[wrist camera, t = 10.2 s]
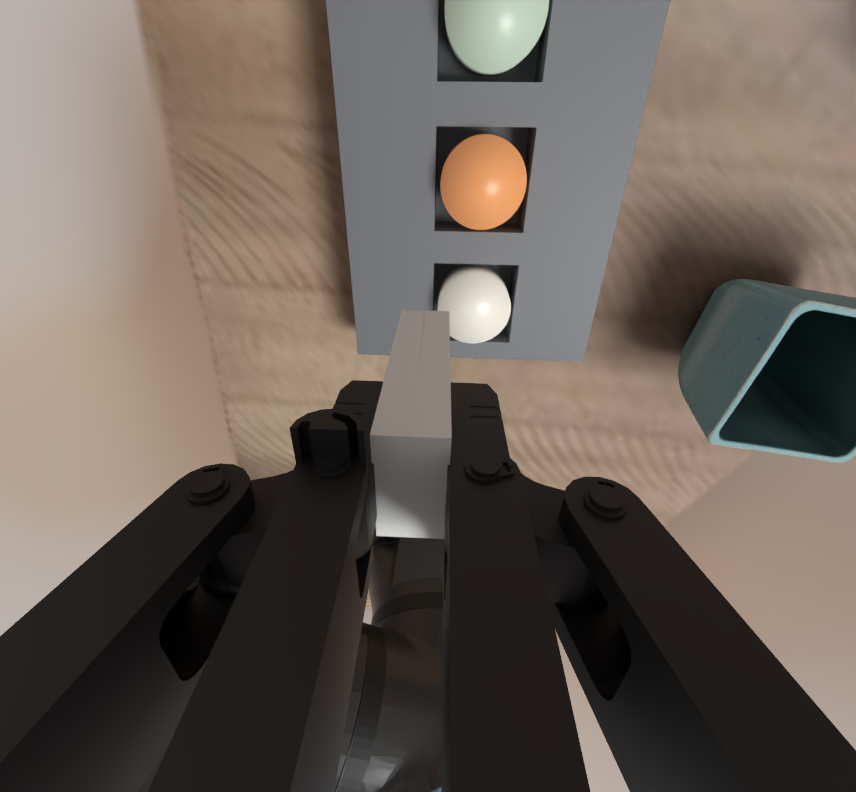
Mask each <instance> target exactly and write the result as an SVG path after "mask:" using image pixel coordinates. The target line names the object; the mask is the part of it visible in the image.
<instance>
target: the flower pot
mask: <svg viewBox="0 0 856 792" xmlns="http://www.w3.org/2000/svg"><path fill="white" fill-rule="evenodd" d="M678 375H679V384H680V388H681V391H682V394H683V396H684V398H685V400H686V402H687V404H688V406H689V408H690V409H691V411H692V413H693V415H694V417H695V418H696V420H697V422H698V424H699V426H700V427H701V429H702V431H703V433H704V434H705V436H706V438H707V440H708V442H709V443H711V444H715V445H720V446H727V447H733V448H741V449H750V450H758V451H765V452H772V453H777V454H784V455H791V456H798V457H804V458H811V459H817V460H822V461H827V462H833V463H836V462H837V463H839V462H846V461H849V460H850V459H851V458H852V457H853V456H854V455H855V454H856V298H853V297H847V296H841V295H836V294H830V293H824V292H818V291H812V290H807V289H801V288H796V287H790V286H784V285H778V284H773V283H768V282H763V281H757V280H752V279H734V280H730V281H727V282H725V283H723V284H721V285H720V286H718V287H717V288H716V289H715V291H714V292H713V294H712V296H711V297H710V299H709V301H708V303H707V305H706V307H705V309H704V311H703V313H702V314H701V316H700V318H699V320H698V322H697V324H696V325H695V327H694V329H693V331H692V333H691V334H690V336H689V338H688V340H687V341H686V343H685V345H684V347H683V350H682V354H681V358H680V362H679V371H678Z"/></svg>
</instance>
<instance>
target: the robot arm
mask: <svg viewBox="0 0 856 792" xmlns="http://www.w3.org/2000/svg"><path fill="white" fill-rule="evenodd" d="M501 418H502V416H501V411H500V406H499V401H498V396H497V394H496V393H495V392H494V391H493V390H492V389H491V387H490V386H489V385H488V384H476V383H451V376H450V323H449V311H426V310H402V311H401V315H400V319H399V323H398V327H397V330H396V334H395V338H394V342H393V346H392V350H391V354H390V358H389V362H388V366H387V370H386V374H385V378H384V381H383V382H381V381H354V380H352V381H351V382H350V383H349V384H348V385H346V386H345V387H344V388H343V389H341V390H340V392H339V395H338V397H337V400H336V404H334V407H333V409H324V410H318V411H315V412H311V413H308V414H306V415H304V416H303V417H301V418H299V419H297V420H296V421H295V422H294V424H293V425H292V426H291V427H290V432H291V438H292V443H293V449H294V454H295V459H296V466H295V468H294V470H292V471H290V472H288V473H285V474H281V475H277V476H273V477H267V478H262V479H257V480H251V481H250V478H249V476H248V474H247V473H246V471H245V470H244V469H243V468H240V467H238V466H236V465H233V464H215V465H210V466H205V467H202V468H200V469H197V470H195V471H192V472H190V473H188V474H187V475H186V476H184V477H183V478H181V479H180V480H178V481H177V482H176V483H174V484H173V485H172V486H171V487H170V488H169V489H168V490H166V491H165V492H164V493H163V494H162V495H161V496H160V497H159V498H157V499H156V500H155V501H154V502H153V503H152V504H151V505H149V506H148V507H147V508H146V509H145V510H144V511H143V512H142V513H140V514H139V515H138V516H137V517H136V518H135V519H133V520H132V521H131V522H130V523H129V524H128V525H127V526H125V528H123V529H122V530H121V531H120V532H119V533H117V534H116V535H115V536H114V537H113V538H112V539H111V540H110V541H108V542H107V543H106V544H105V545H104V546H103V547H102V548H100V549H99V550H98V551H97V552H96V553H95V554H94V555H92V556H91V557H90V558H89V559H88V560H87V561H86V562H84V563H83V564H82V565H81V566H80V567H79V568H78V569H76V570H75V571H74V572H73V573H72V574H71V575H70V576H69V577H67V578H66V579H65V580H64V581H63V582H62V583H61V584H59V586H57V587H56V588H55V589H54V590H53V591H51V592H50V593H49V594H48V595H47V596H46V597H45V598H43V599H42V600H41V601H40V602H39V603H38V604H37V605H35V606H34V607H33V608H32V609H31V610H30V611H29V612H28V613H26V614H25V615H24V616H23V617H22V618H21V619H20V620H19V621H17V622H16V623H15V624H14V625H13V626H12V627H11V628H9V629H8V630H7V631H6V632H5V633H4V634H2V635H1V636H0V792H590V788H589V784H588V779H587V774H586V770H585V765H584V761H583V756H582V752H581V747H580V743H579V738H578V733H577V729H576V724H575V720H574V715H573V710H572V706H571V701H570V697H569V692H568V687H567V683H566V678H565V674H564V669H563V664H562V660H561V655H560V651H559V646H558V642H557V637H556V632H557V634H558V636H559V639H560V641H561V643H562V645H563V647H564V649H565V651H566V654H567V656H568V658H569V660H570V662H571V665H572V667H573V669H574V671H575V673H576V675H577V678H578V680H579V682H580V684H581V686H582V688H583V690H584V692H585V695H586V697H587V699H588V701H589V704H590V706H591V708H592V710H593V712H594V714H595V716H596V719H597V721H598V723H599V725H600V727H601V729H602V732H603V734H604V736H605V738H606V741H607V743H608V745H609V747H610V749H611V751H612V754H613V756H614V758H615V760H616V762H617V764H618V766H619V769H620V771H621V773H622V775H623V777H624V780H625V782H626V784H627V786H628V788H629V790H630V792H856V750H855V749H854V748H853V747H852V746H851V745H850V744H849V742H848V741H847V740H846V739H845V738H844V736H843V735H842V734H841V733H840V732H839V731H838V729H837V728H836V727H835V726H834V725H833V724H832V723H831V721H830V720H829V719H828V718H827V717H826V715H825V714H824V713H823V712H822V711H821V710H820V708H819V707H818V706H817V705H816V704H815V703H814V701H813V700H812V699H811V698H810V697H809V696H808V694H807V693H806V692H805V691H804V690H803V689H802V687H801V686H800V685H799V684H798V683H797V682H796V681H795V679H794V678H793V677H792V676H791V675H790V673H789V672H788V671H787V670H786V669H785V668H784V667H783V665H782V664H781V663H780V662H779V661H778V659H777V658H775V656H774V655H773V654H772V652H771V651H770V650H769V649H768V648H767V647H766V645H765V644H764V643H763V642H762V641H761V640H760V638H759V637H758V636H757V635H756V634H755V633H754V631H753V630H752V629H751V628H750V627H749V626H748V624H747V623H746V622H745V621H744V620H743V619H742V617H741V616H740V615H739V614H738V613H737V612H736V610H735V609H734V608H733V607H732V606H731V605H730V603H729V602H728V601H727V600H726V599H725V598H724V596H723V595H722V594H721V593H720V592H719V591H718V589H717V588H716V587H715V586H714V585H713V584H712V582H711V581H710V580H709V579H708V578H707V577H706V576H705V574H704V573H703V572H702V571H701V570H700V569H699V567H698V566H697V565H696V564H695V563H694V562H693V560H692V559H691V558H690V557H689V556H688V555H687V553H686V552H685V551H684V550H683V549H682V547H681V546H680V545H679V544H678V543H677V542H676V540H675V539H674V538H673V537H672V536H671V535H670V533H669V532H668V531H667V530H666V529H665V528H664V526H663V525H662V524H661V523H660V522H659V521H658V519H657V518H656V517H655V516H654V515H653V514H652V512H651V511H650V510H649V509H648V508H647V507H646V505H645V504H644V503H643V502H642V501H641V500H640V498H639V497H637V496H636V495H635V494H634V493H633V492H632V491H631V490H629V489H628V488H627V487H625V486H623V485H621V484H619V483H617V482H615V481H612V480H608V479H605V478H601V477H583V478H579V479H576V480H573V481H572V482H571V483H570V484H569V485H568V486H567V487H566V490H565V491H564V490H560V489H556V488H553V487H549V486H545V485H542V484H540V483H537V482H534V481H532V480H530V479H529V478H527V477H525V476H524V475H523V474H521V472H520V470H519V468H518V466H517V464H516V463H515V462H514V461H513V460H512V459H511V458H510V456H509V451H508V446H507V441H506V436H505V431H504V426H503V421H502V419H501ZM368 588H369V592H370V598H371V605H372V611H373V616H372V623H371V625H370V624H366V623H363V617H364V611H365V605H366V599H367V593H368ZM555 630H556V632H555Z"/></svg>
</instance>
